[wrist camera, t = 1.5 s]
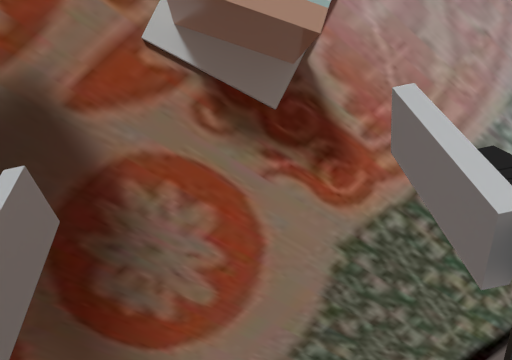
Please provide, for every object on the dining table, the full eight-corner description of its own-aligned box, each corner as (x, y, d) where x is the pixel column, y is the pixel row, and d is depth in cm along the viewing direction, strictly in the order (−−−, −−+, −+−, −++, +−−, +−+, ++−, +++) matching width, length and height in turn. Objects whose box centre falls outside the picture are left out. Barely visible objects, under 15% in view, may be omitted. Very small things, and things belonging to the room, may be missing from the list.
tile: (293, 64, 35) (320, 33, 26) (174, 23, 34) (160, -23, 25) (300, 40, 35) (330, 1, 26) (181, -1, 34) (169, -56, 25)
